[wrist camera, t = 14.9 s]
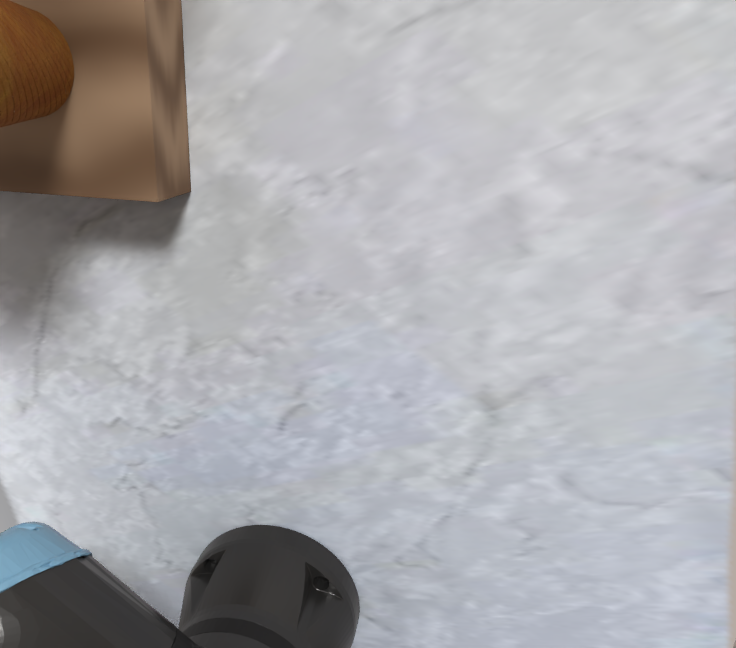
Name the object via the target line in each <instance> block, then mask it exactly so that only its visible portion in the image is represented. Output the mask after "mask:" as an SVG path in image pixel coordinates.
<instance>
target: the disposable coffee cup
mask: <svg viewBox="0 0 736 648" xmlns="http://www.w3.org/2000/svg"><path fill="white" fill-rule="evenodd" d="M73 80H74V64H73V59H72V54H71V51H70V48H69V46H68V43H67V41H66V40H65V38H64V36H63V34H62V33H61V32H60V30H59V29H58V28H57V27H56V25H55V24H54V23H53V22H52V21H51V20H50V19H48V18H47V17H46V16H44V15H43V14H41V13H40V12H37V11H35V10H32V9H30V8H27V7H24V6H22V5H19V4H17V3H15V2H12V1H10V0H0V127H4V126H8V125H12V124H16V123H20V122H24V121H28V120H32V119H36V118H40V117H44V116H48V115H50V114H52V113H53V112H55V111H57V110H58V109H59V108H60V107H61V106H62V105H63V104H64V103H65V101H66V100H67V98H68V97H69V94H70V91H71V88H72V86H73Z"/></svg>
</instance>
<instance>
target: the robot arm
mask: <svg viewBox="0 0 736 648" xmlns="http://www.w3.org/2000/svg"><path fill="white" fill-rule="evenodd" d="M359 612H360V605H359V597H358V593H357V589H356V587H355V584H354V582H353V580H352V578H351V576H350V574H349V572H348V571H347V569H346V568H345V567H344V565H343V564H342V563H341V562H340V561H339V559H338V558H337V557H336V556H335V555H334V554H333V553H331V552H330V551H329V550H328V549H327V548H325V547H324V546H323V545H321V544H320V543H318V542H317V541H315V540H313V539H312V538H310V537H308V536H306V535H303V534H301V533H299V532H296V531H293V530H290V529H286V528H282V527H277V526H269V525H252V526H245V527H240V528H236V529H233V530H230V531H228V532H226V533H224V534H222V535H220V536H219V537H217V538H216V539H214V540H213V541H212V542H211V543H210V544H209V545H208V546H207V547H206V548H205V550H204V551H203V552H202V554H201V556H200V557H199V559H198V560H197V562H196V564H195V565H194V567H193V569H192V570H191V573H190V575H189V577H188V580H187V583H186V587H185V592H184V598H183V604H182V610H181V616H180V622H179V628H177V627H175V625H173V624H172V623H171V622H170V621H168V620H167V619H166V618H165V617H164V616H162V615H161V614H160V613H159V612H157V611H156V610H155V609H154V608H153V607H151V606H150V605H149V604H148V603H146V602H145V601H144V600H143V599H141V598H140V597H139V596H138V595H137V594H135V593H134V592H133V591H132V590H131V589H129V588H128V587H127V586H126V585H125V584H124V583H122V582H121V581H120V580H119V579H118V578H117V577H115V576H114V575H113V574H112V573H111V572H109V571H108V570H107V569H106V568H105V567H104V566H102V565H101V564H100V563H99V562H98V561H97V560H95V559H94V558H93V557H92V553H91V552H90V551H89V550H87V549H81V548H79V547H78V546H77V545H75V544H74V543H72V542H71V541H69V540H68V539H67V538H65V537H64V536H63V535H61V534H60V533H59V532H57V531H56V530H55V529H53V528H52V527H50V526H49V525H46V524H44V523H39V522H27V523H22V524H18V525H16V526H14V527H11V528H9V529H7V530H5V531H4V532H2V533H0V648H351V645H352V643H353V640H354V636H355V632H356V628H357V624H358V619H359ZM733 648H736V640H735V644H734V647H733Z"/></svg>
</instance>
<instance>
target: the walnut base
mask: <svg viewBox="0 0 736 648" xmlns="http://www.w3.org/2000/svg"><path fill="white" fill-rule="evenodd" d="M10 1H12V2H15V3H17V4H19V5H22V6H24V7H27V8H30V9H32V10H35V11H37V12H40V13H41V14H43V15H44V16H46V17H47V18H48V19H50V20H51V21H52V22H53V23H54V24H55V25H56V27H57V28H58V29H59V30H60V32H61V33H62V34H63V36H64V38H65V40H66V41H67V43H68V46H69V48H70V51H71V54H72V59H73V64H74V80H73V86H72V88H71V91H70V94H69V97H68V98H67V100H66V101H65V103H64V104H63V105H62V106H61V107H60V108H59V109H58V110H57V111H55V112H53V113H52V114H50V115H48V116H44V117H40V118H36V119H32V120H28V121H24V122H20V123H16V124H12V125H8V126H4V127H0V191H11V192H25V193H39V194H53V195H67V196H81V197H95V198H109V199H123V200H137V201H151V202H160V201H163V200H166V199H169V198H172V197H175V196H179V195H182V194H185V193H188V192H191V182H190V163H189V143H188V124H187V105H186V85H185V66H184V47H183V28H182V8H181V0H10Z"/></svg>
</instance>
